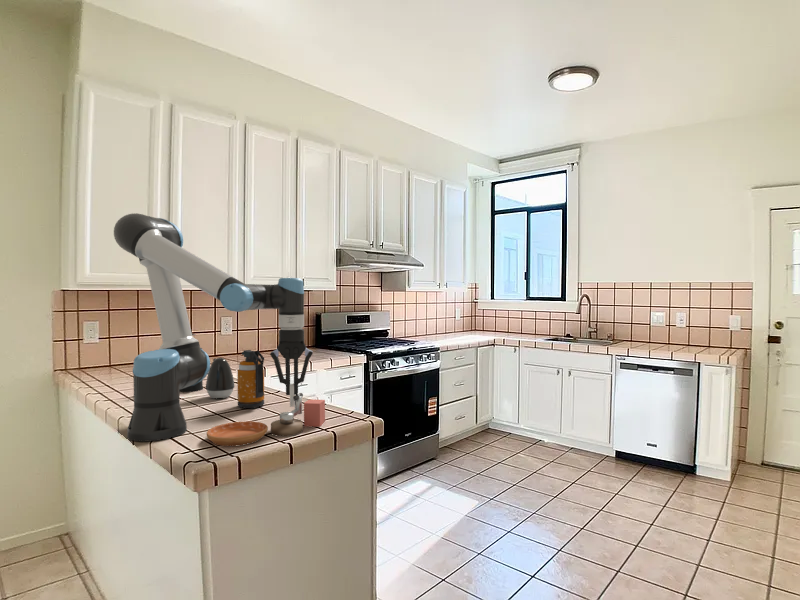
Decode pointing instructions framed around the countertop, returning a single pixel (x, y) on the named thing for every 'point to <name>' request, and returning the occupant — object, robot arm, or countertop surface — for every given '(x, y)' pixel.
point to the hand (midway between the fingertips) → (292, 405)
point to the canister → (251, 380)
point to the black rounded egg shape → (219, 379)
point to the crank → (289, 416)
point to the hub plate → (286, 428)
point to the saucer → (237, 433)
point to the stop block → (314, 412)
